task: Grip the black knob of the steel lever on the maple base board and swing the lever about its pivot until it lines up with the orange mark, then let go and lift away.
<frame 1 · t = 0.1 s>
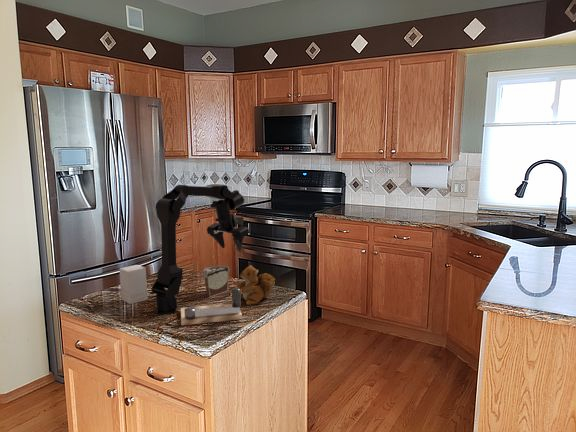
hand: (231, 249, 184), 15 cm above the counter, tool pointing down, fingers open, 9 cm apart
supplement box: (134, 300, 171), on the counter
base board: (210, 315, 154), on the counter
stuffed squirrel: (256, 299, 170), on the counter
lever: (212, 303, 150), point 6 cm above the counter, hinge at 0.0°
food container: (213, 293, 178), on the counter
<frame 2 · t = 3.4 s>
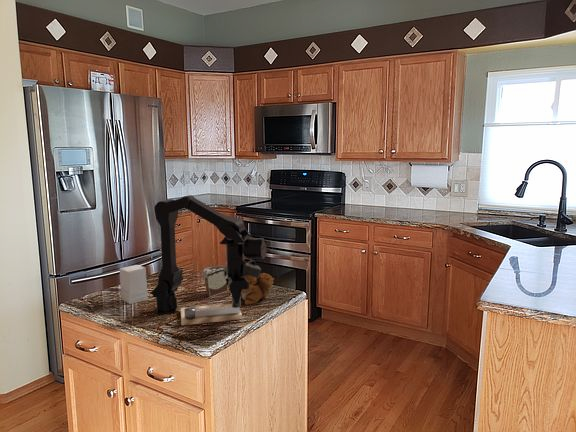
hand: (236, 301, 152), 6 cm above the counter, tool pointing down, fingers closed on lever, 3 cm apart
lever: (212, 303, 150), point 6 cm above the counter, hinge at 0.0°, touching gripper
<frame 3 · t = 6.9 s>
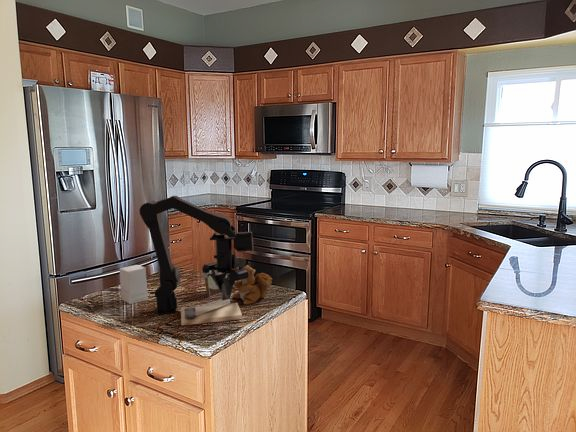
hand: (226, 294, 159), 5 cm above the counter, tool pointing down, fingers closed on lever, 3 cm apart
lever: (208, 299, 153), point 6 cm above the counter, hinge at 33.9°, touching gripper
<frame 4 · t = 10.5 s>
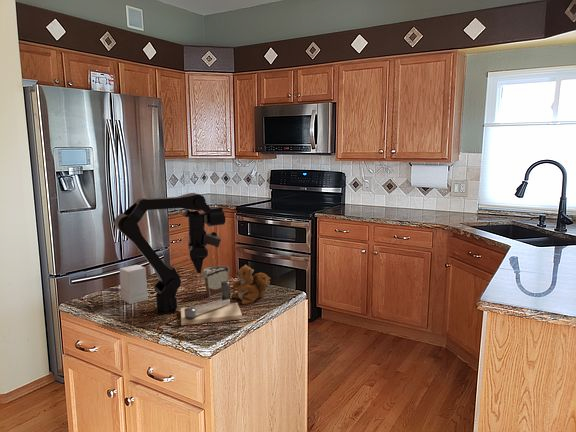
hand: (198, 269, 164), 13 cm above the counter, tool pointing down, fingers open, 9 cm apart
lever: (208, 299, 153), point 6 cm above the counter, hinge at 34.1°
at the end: lever at +34° (first picture: +0°); the gripper is holding nothing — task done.
